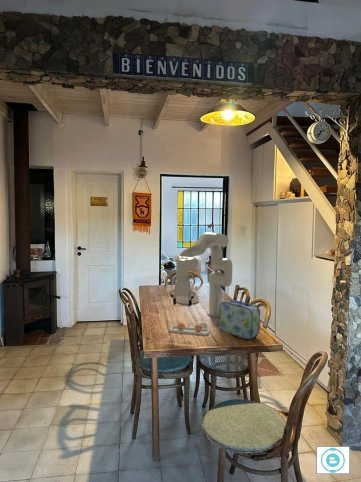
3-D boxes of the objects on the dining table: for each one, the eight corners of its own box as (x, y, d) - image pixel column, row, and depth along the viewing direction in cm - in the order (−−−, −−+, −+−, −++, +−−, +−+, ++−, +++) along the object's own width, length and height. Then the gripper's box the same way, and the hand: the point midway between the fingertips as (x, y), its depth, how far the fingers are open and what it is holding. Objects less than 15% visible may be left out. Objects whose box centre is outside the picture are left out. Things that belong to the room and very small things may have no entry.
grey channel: (172, 329, 215) (172, 325, 215) (209, 332, 209) (209, 328, 209) (169, 333, 207) (169, 329, 207) (207, 337, 201) (207, 333, 201)
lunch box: (262, 338, 201) (263, 304, 199) (251, 342, 193) (253, 307, 192) (227, 327, 219) (228, 296, 218) (217, 331, 212) (217, 298, 210)
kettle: (203, 302, 281) (203, 281, 280) (181, 305, 272) (181, 283, 271) (192, 297, 299) (192, 277, 298) (171, 299, 290) (171, 279, 289)
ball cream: (200, 327, 218) (200, 319, 217) (207, 328, 216) (207, 320, 216) (198, 329, 213) (198, 322, 212) (206, 330, 212) (206, 322, 211)
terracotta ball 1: (178, 328, 212) (178, 321, 212) (185, 329, 211) (185, 321, 211) (176, 331, 208) (176, 323, 207) (184, 332, 206) (183, 324, 206)
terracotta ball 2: (195, 330, 210) (195, 322, 209) (203, 331, 209) (203, 323, 208) (193, 333, 205) (193, 325, 205) (201, 334, 204) (201, 326, 203)
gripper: (197, 278, 210) (196, 304, 211) (170, 276, 214) (170, 302, 215) (194, 280, 202) (194, 308, 204) (167, 279, 207) (167, 306, 208)
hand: (182, 305), depth 210 cm, fingers open, 9 cm apart
